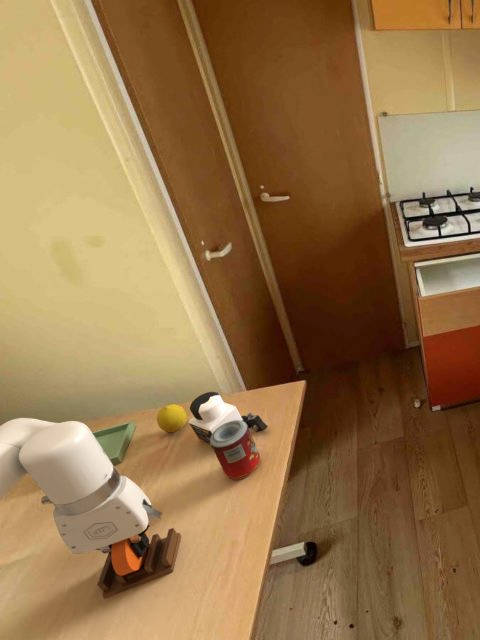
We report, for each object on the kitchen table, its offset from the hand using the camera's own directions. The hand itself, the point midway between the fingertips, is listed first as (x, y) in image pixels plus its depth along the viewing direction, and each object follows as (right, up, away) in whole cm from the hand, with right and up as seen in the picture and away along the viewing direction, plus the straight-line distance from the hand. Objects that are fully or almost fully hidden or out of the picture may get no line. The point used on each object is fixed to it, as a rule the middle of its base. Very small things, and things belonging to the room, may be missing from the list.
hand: (133, 552), depth 76 cm
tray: (-30, +7, +23) cm, 39 cm away
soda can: (+8, +5, +20) cm, 22 cm away
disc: (0, +1, -1) cm, 2 cm away
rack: (0, -4, +2) cm, 4 cm away
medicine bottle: (-3, +10, +28) cm, 30 cm away
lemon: (-15, +10, +29) cm, 34 cm away
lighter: (+4, +10, +29) cm, 31 cm away
